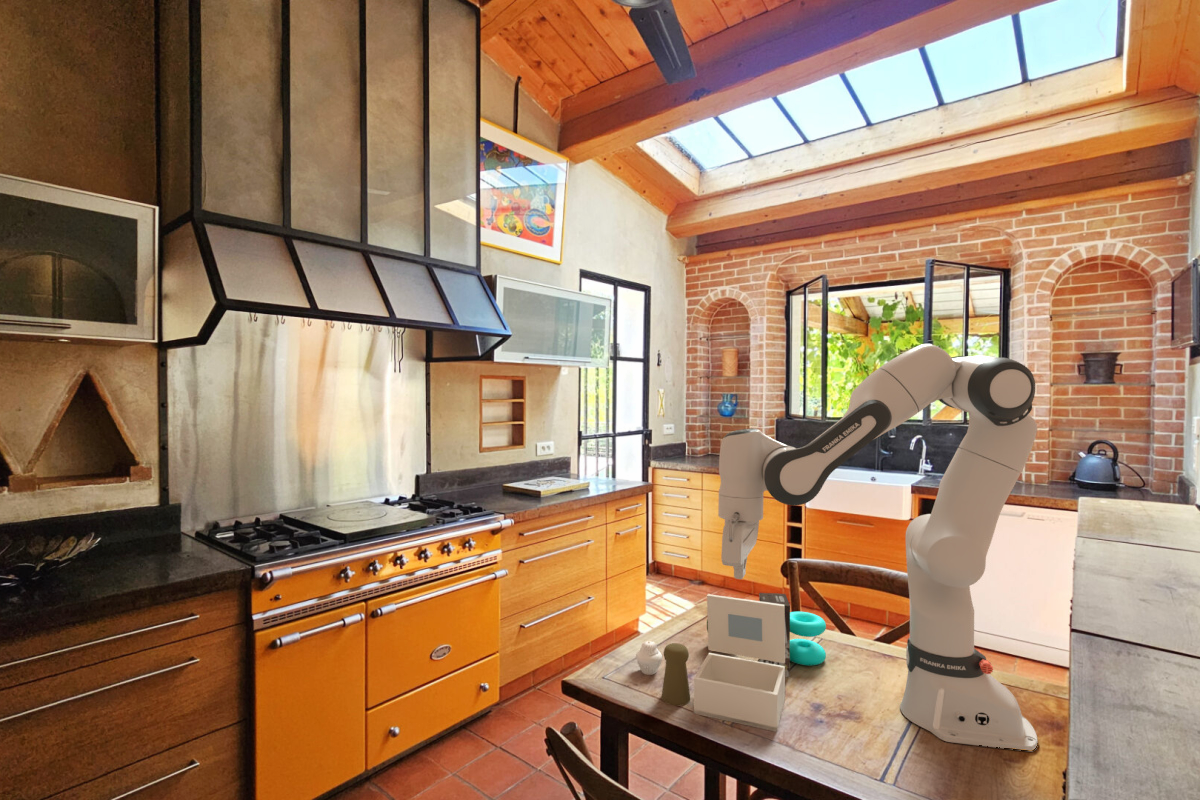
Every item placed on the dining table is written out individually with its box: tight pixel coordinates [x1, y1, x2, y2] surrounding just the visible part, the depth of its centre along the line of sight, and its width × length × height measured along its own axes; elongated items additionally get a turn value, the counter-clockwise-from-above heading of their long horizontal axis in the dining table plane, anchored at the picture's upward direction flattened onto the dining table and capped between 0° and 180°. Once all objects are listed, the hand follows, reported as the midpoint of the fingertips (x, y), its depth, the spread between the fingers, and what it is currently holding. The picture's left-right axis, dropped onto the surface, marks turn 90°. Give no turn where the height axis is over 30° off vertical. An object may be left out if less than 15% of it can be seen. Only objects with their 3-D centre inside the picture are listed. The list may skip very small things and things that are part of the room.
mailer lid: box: [706, 593, 785, 663], centre depth 126 cm, size 16×13×1 cm
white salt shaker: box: [635, 640, 663, 676], centre depth 136 cm, size 6×6×7 cm
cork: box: [661, 642, 691, 706], centre depth 124 cm, size 6×6×11 cm
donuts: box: [790, 611, 827, 666], centre depth 143 cm, size 10×10×10 cm
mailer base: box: [693, 652, 786, 733], centre depth 121 cm, size 16×13×7 cm
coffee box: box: [758, 592, 791, 678], centre depth 138 cm, size 9×6×16 cm
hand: (739, 577), depth 120 cm, fingers closed
